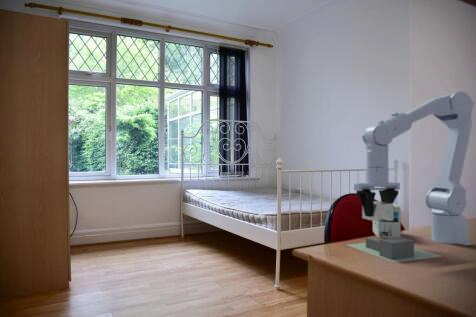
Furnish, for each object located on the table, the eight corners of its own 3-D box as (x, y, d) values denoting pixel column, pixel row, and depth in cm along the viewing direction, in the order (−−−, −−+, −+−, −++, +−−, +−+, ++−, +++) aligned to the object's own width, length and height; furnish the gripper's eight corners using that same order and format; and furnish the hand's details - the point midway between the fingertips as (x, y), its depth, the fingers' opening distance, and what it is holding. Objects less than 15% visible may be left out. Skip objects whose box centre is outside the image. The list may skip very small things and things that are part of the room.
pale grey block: (377, 217, 103) (377, 201, 103) (393, 220, 98) (393, 203, 98) (362, 218, 101) (362, 201, 101) (377, 221, 96) (377, 204, 96)
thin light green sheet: (388, 243, 104) (388, 226, 104) (442, 260, 87) (442, 240, 87) (345, 248, 99) (345, 230, 99) (394, 266, 82) (394, 245, 82)
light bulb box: (401, 242, 106) (401, 206, 106) (377, 241, 108) (377, 205, 108) (393, 234, 117) (393, 202, 117) (371, 233, 118) (371, 201, 118)
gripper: (387, 167, 106) (387, 212, 106) (347, 167, 101) (347, 214, 101) (405, 167, 99) (405, 215, 99) (363, 168, 94) (363, 218, 94)
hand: (377, 215), depth 99 cm, fingers closed on pale grey block, 6 cm apart
